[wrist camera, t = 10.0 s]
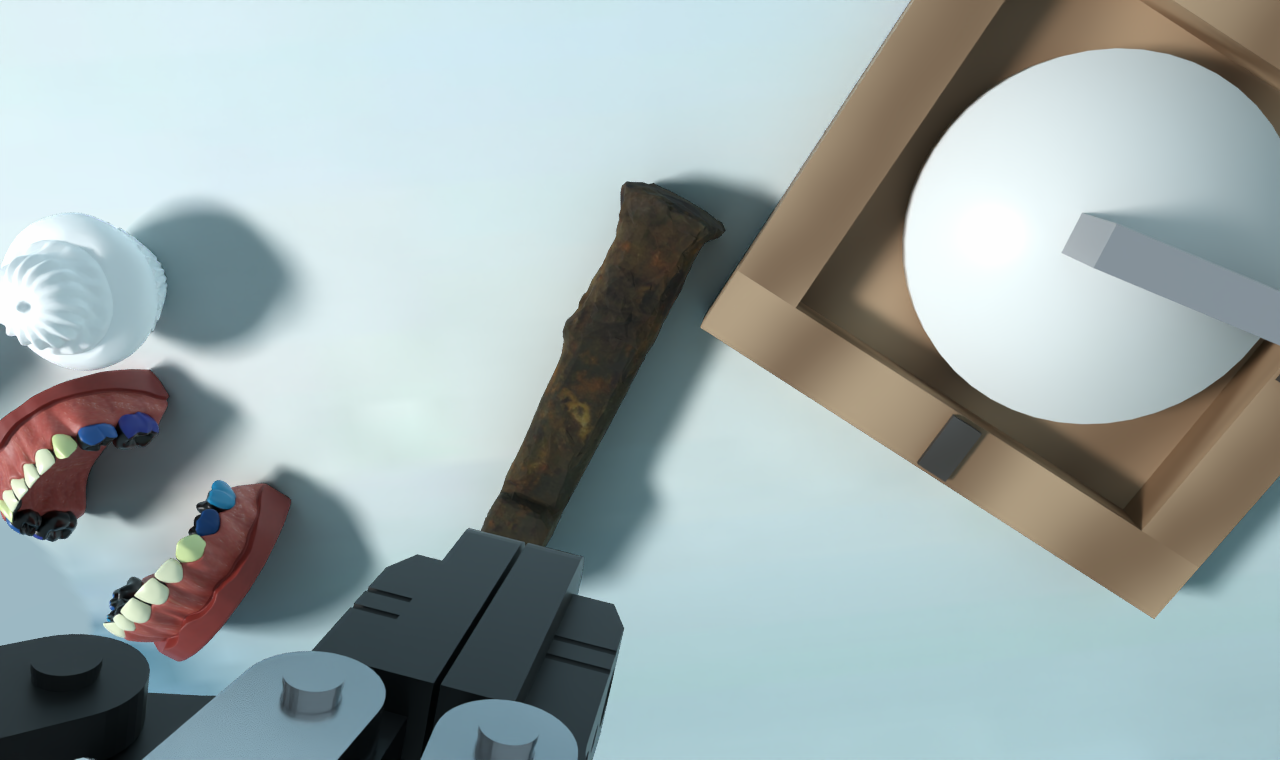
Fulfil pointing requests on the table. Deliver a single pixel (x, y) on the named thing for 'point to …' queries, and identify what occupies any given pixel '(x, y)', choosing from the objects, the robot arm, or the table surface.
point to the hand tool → (601, 356)
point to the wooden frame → (910, 363)
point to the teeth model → (56, 497)
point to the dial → (1098, 236)
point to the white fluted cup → (80, 291)
